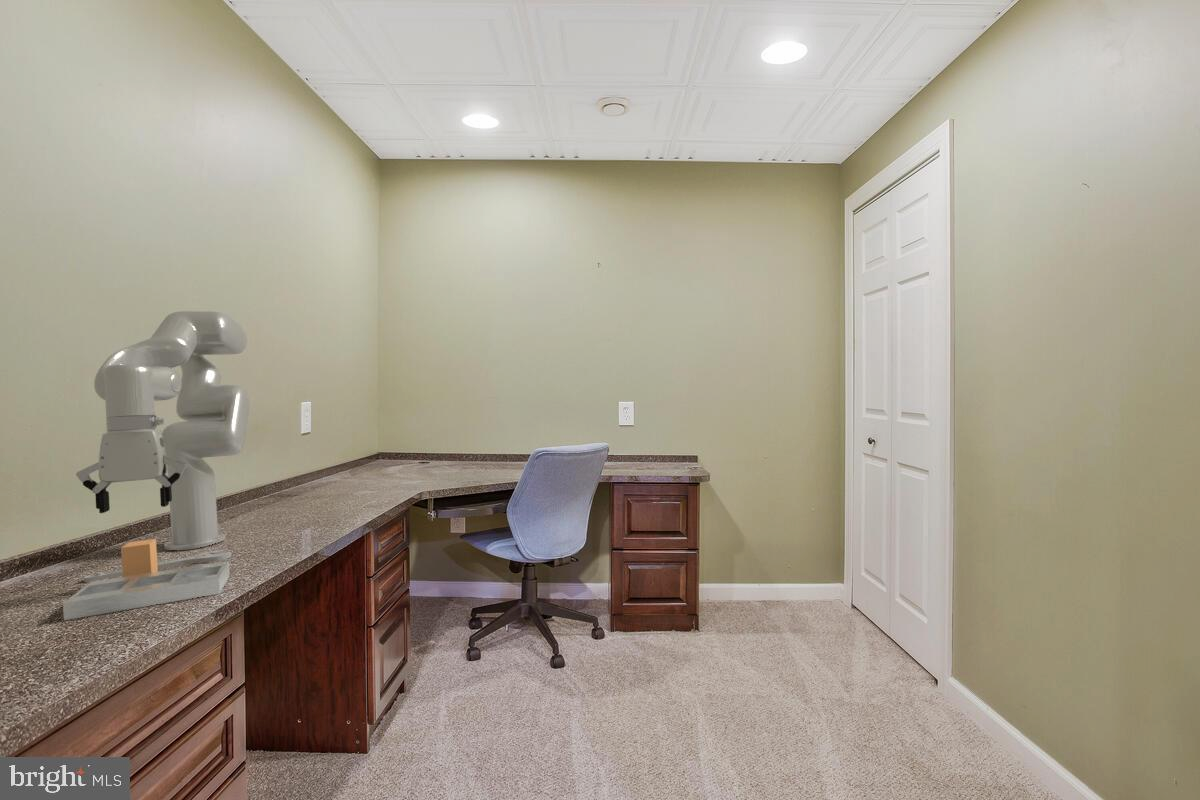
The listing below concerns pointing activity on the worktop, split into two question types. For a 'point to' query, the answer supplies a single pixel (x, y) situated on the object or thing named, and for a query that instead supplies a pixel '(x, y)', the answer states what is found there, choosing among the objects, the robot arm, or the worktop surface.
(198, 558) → the grey slotted rack
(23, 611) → the worktop surface
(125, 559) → the rectangular block
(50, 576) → the worktop surface
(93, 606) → the grey compartment tray
